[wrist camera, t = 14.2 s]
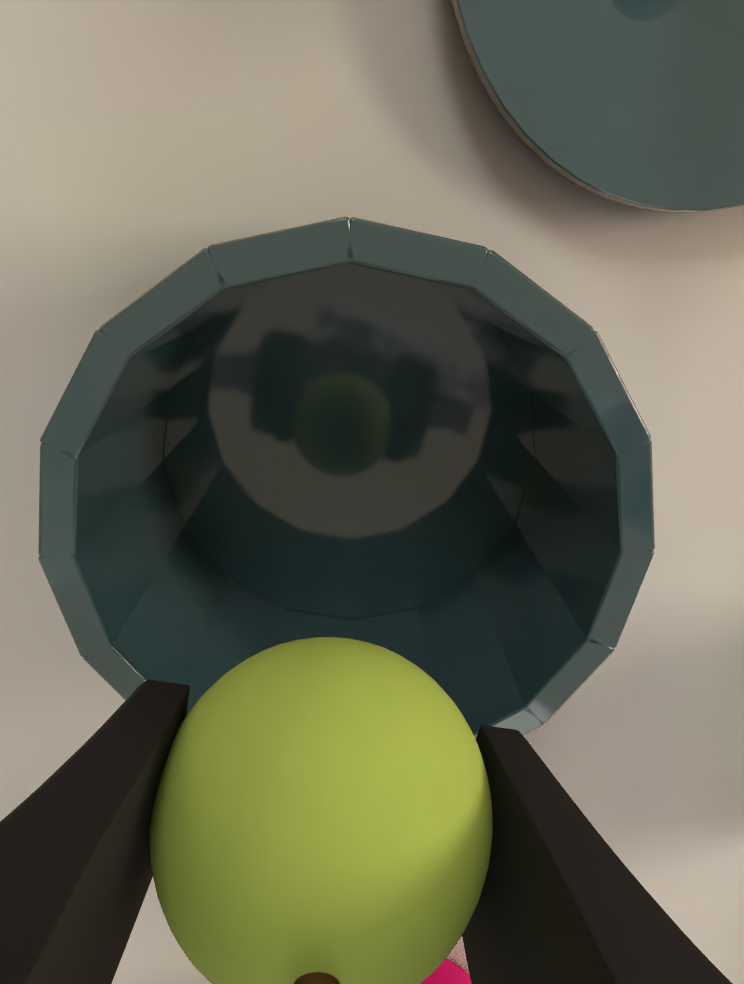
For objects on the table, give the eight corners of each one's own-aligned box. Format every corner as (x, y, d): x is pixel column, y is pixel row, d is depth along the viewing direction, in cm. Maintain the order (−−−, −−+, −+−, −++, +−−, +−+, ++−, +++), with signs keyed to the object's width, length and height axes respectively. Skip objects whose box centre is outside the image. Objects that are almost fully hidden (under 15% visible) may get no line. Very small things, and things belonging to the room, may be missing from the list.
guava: (508, 720, 11) (641, 1109, 6) (300, 832, 12) (265, 1257, 7) (364, 528, 10) (381, 829, 5) (139, 669, 10) (-58, 1058, 5)
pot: (618, 503, 19) (745, 620, 13) (304, 684, 21) (286, 860, 15) (415, 135, 15) (458, 55, 9) (56, 399, 17) (-103, 478, 11)
